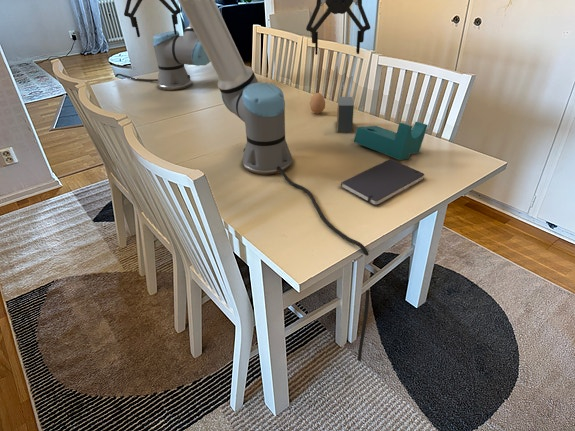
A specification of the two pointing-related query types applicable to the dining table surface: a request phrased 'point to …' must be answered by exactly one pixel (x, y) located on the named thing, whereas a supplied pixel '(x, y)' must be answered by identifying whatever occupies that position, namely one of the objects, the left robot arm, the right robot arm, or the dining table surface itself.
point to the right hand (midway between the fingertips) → (336, 53)
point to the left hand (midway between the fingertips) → (157, 35)
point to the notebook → (382, 181)
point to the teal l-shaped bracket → (392, 139)
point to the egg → (317, 103)
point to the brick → (345, 114)
